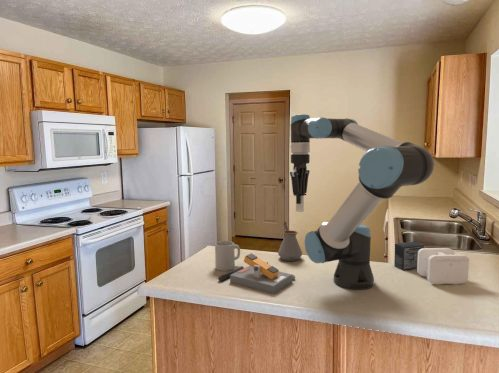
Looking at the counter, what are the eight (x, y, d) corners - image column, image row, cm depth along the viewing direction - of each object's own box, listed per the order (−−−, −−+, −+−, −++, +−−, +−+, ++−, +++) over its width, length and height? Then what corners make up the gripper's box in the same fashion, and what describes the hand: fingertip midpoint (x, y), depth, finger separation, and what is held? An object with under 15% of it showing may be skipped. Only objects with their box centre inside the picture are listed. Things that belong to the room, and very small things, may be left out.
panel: (292, 281, 143) (292, 263, 142) (273, 293, 131) (273, 274, 131) (250, 272, 154) (250, 254, 153) (230, 282, 143) (229, 263, 142)
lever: (277, 276, 141) (279, 269, 140) (271, 279, 137) (274, 273, 136) (249, 258, 148) (251, 252, 147) (243, 261, 144) (245, 255, 144)
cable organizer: (452, 275, 148) (454, 247, 147) (468, 285, 138) (470, 255, 136) (416, 275, 148) (417, 248, 147) (429, 286, 137) (430, 256, 136)
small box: (413, 263, 163) (414, 240, 162) (424, 268, 157) (425, 244, 155) (393, 266, 160) (394, 242, 159) (403, 271, 154) (404, 246, 152)
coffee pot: (304, 262, 166) (304, 230, 165) (279, 263, 166) (279, 230, 164) (295, 248, 188) (295, 220, 186) (273, 249, 187) (273, 220, 185)
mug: (221, 272, 154) (221, 247, 153) (212, 266, 161) (211, 242, 160) (245, 266, 161) (244, 242, 160) (234, 261, 168) (234, 238, 167)
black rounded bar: (244, 270, 156) (244, 266, 156) (221, 282, 143) (221, 277, 143) (241, 269, 157) (241, 265, 157) (217, 281, 144) (217, 276, 144)
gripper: (299, 153, 154) (299, 208, 156) (283, 154, 143) (283, 212, 146) (315, 153, 149) (315, 209, 152) (301, 154, 139) (300, 214, 142)
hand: (299, 211), depth 149 cm, fingers closed
